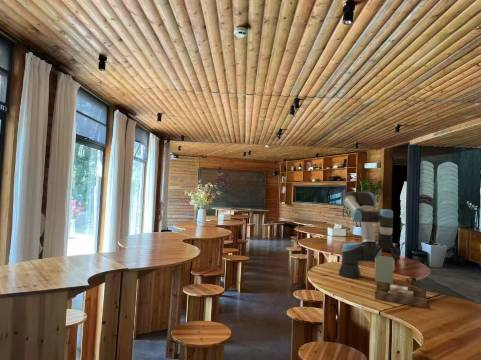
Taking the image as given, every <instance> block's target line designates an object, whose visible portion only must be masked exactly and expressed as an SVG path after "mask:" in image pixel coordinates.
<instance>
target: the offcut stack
mask: <svg viewBox="0 0 481 360" xmlns="http://www.w3.org/2000/svg"><path fill="white" fill-rule="evenodd" d="M388 293H394V294H400V295H406V296H412V297H413V291H408V287H404V286H397V285H391V284H390V291H388Z"/></svg>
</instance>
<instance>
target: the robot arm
mask: <svg viewBox="0 0 481 360" xmlns="http://www.w3.org/2000/svg"><path fill="white" fill-rule="evenodd" d="M341 201H342V204H343V206H344V207H346V208H347V209H348V210H349V211H350V212H351V219H352V221H353V222H358V223H360V230H361V238H362V239H361V242H346V243H343V244H342V248H341V265H340V267H339V269H338V275H339V276H341V277H342V278H349V279H359V278H361V275H362V274H361V270H360V266H359V263H360V262H362V263H363V262H365V263H374V269H376V256H377V255H378V256H382V250H383V249H385V250H388V251H389V253H390V254H391V255H392V256H391V257H393V258H394V260H393V272H394V271H395V266H397V265H398V264H397V263H398V261H399V260H401V256H400V253H399V250H398V243H394V242H393V235H392V234H393V223H394V210H392V209H384V208H383V209H380V210H373V209H374V207H375V206H376V197H375V195H374V193H372V192H370V191H354V190H353V191H349V192H348V191H347V192H346V193H344V195H343V196H342V200H341ZM374 223H377V224H379V236H378V241H376V240H375V239H376V238H375V231H374V229H375V227H374ZM392 247H394V250H395V253H396V254H395V253H394V251H393V249H392Z"/></svg>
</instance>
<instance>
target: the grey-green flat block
mask: <svg viewBox="0 0 481 360" xmlns="http://www.w3.org/2000/svg"><path fill="white" fill-rule="evenodd" d="M393 260H395V259H394V258H393V256H383V255H381V256H378V255H377V256H376V268H375V279H374V280H375V282H377V281H379V282H385V283H392V284H394V283H393V282H394V281H393V280H394V271H393Z"/></svg>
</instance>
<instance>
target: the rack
mask: <svg viewBox="0 0 481 360" xmlns="http://www.w3.org/2000/svg"><path fill="white" fill-rule="evenodd" d="M376 282H377V283H376V290H375V292H374V299H375V300H380V301H385V302H386V301H387V302H391V303H397V304H401V303H402V305H408V306H412V307H418V308H419V307H420V308H425V309H427V307H428V298H427V288H423V287H417V286H416V287H415V286H410V285H404V284H396V283H393V284H392V283H385V282H379V281H376ZM390 284H391V285H397V286H404V287H408V291H413V297H412V296H406V295H400V294H394V293H388V291H390Z"/></svg>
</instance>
